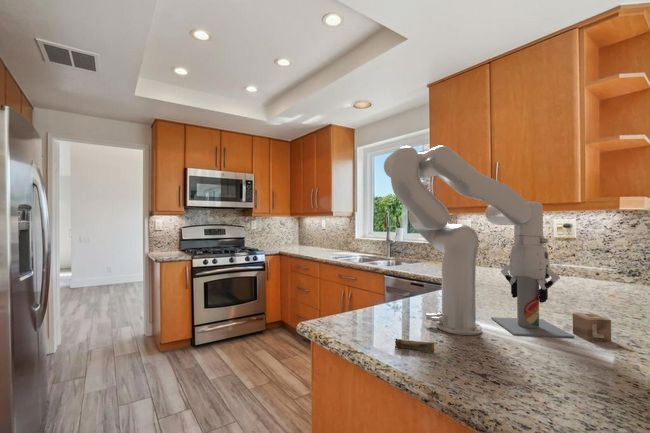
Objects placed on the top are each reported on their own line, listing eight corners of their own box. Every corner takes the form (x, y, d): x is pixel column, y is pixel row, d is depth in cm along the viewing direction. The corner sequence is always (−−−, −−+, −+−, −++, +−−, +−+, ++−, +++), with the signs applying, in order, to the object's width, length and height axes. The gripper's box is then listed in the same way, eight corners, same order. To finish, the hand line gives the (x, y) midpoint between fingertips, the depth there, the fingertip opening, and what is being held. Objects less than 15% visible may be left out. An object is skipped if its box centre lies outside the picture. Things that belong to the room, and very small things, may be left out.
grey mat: (513, 335, 91) (513, 333, 91) (491, 318, 107) (491, 317, 107) (574, 338, 90) (574, 336, 90) (542, 320, 106) (542, 319, 106)
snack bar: (434, 353, 79) (434, 341, 79) (434, 355, 77) (434, 343, 77) (394, 348, 81) (394, 337, 82) (394, 351, 80) (394, 338, 80)
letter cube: (587, 341, 87) (587, 319, 87) (572, 333, 93) (572, 312, 93) (611, 342, 87) (611, 319, 87) (595, 334, 93) (594, 313, 93)
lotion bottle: (542, 329, 95) (542, 262, 96) (521, 327, 96) (521, 261, 97) (533, 323, 101) (534, 259, 101) (514, 322, 102) (514, 259, 102)
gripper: (566, 242, 94) (567, 303, 94) (505, 240, 108) (505, 292, 108) (556, 243, 90) (556, 307, 89) (493, 240, 104) (494, 295, 104)
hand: (528, 299), depth 99 cm, fingers open, 7 cm apart
